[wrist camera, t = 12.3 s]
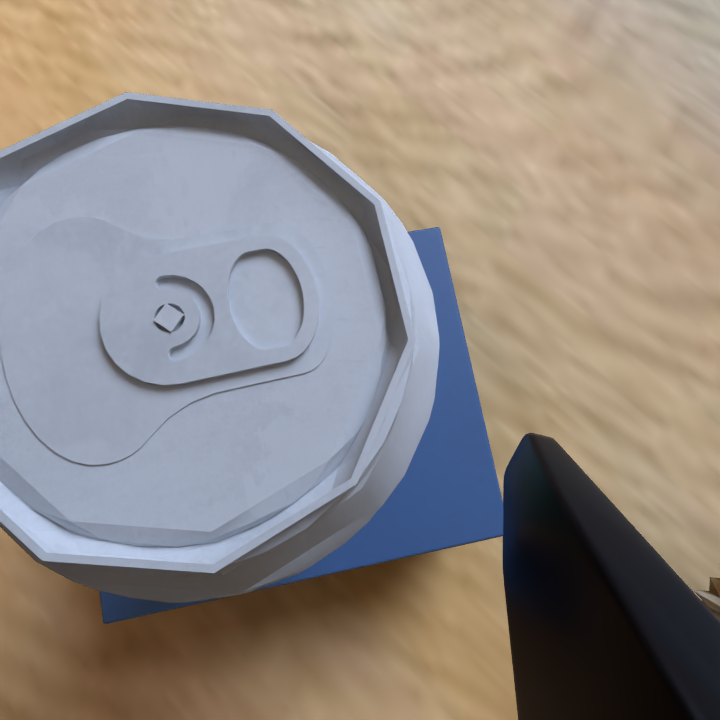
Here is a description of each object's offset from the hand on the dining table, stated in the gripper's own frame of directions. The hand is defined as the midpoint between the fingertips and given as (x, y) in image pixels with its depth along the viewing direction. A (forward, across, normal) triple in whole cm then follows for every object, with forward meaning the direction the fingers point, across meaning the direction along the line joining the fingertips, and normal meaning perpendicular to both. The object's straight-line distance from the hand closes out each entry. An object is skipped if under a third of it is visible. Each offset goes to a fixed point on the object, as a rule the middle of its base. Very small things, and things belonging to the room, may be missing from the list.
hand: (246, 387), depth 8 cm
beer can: (+6, 0, +6) cm, 8 cm away
